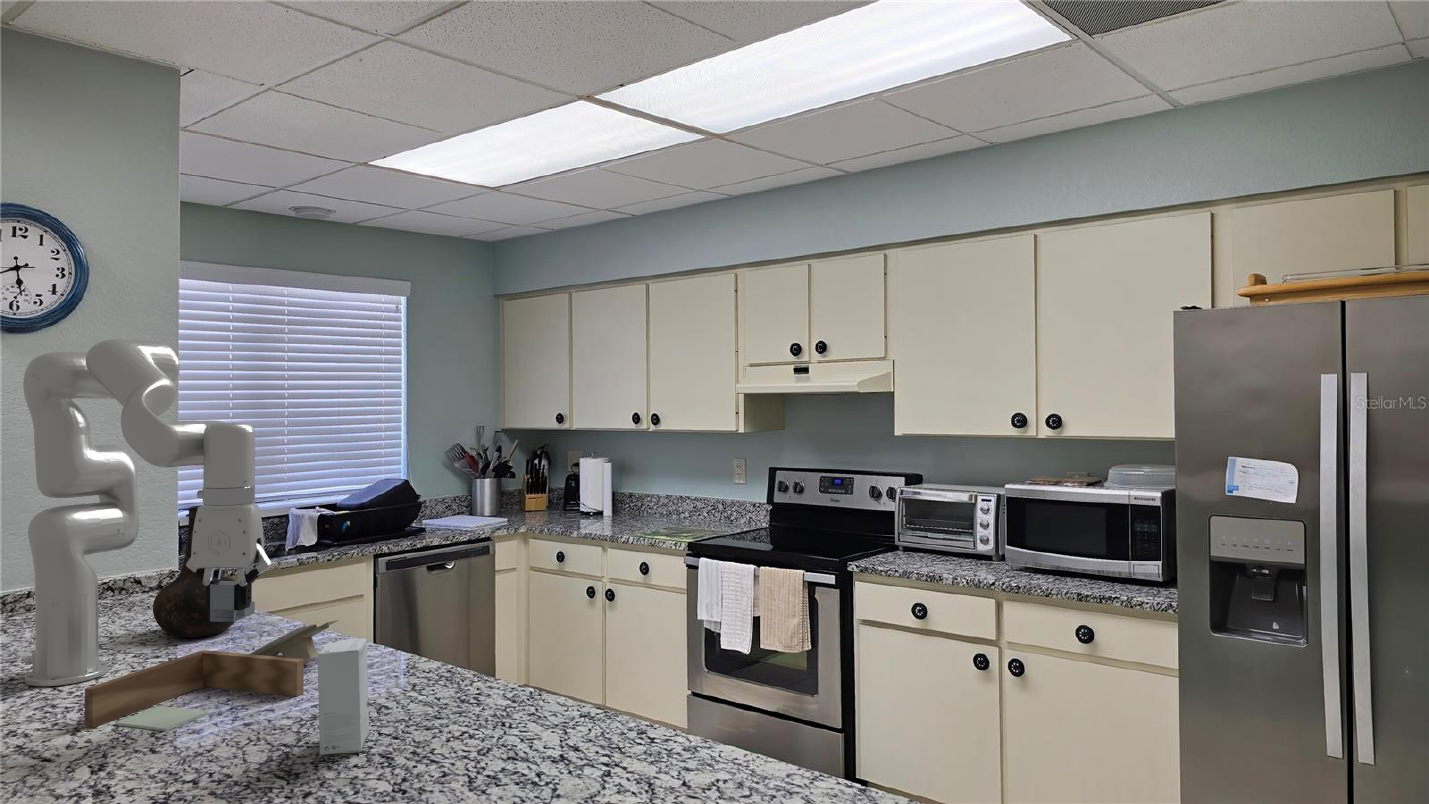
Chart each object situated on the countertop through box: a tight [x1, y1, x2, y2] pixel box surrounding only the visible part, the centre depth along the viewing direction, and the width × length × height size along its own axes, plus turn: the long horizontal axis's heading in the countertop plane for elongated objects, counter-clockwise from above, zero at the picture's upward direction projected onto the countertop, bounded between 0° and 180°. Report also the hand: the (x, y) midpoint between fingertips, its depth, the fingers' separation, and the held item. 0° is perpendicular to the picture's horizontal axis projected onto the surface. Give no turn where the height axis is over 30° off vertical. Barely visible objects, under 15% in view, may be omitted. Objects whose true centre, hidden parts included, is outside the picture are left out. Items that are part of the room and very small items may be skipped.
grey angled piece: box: [249, 619, 340, 665], centre depth 174 cm, size 16×9×15 cm
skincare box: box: [317, 637, 370, 756], centre depth 135 cm, size 8×6×15 cm
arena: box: [84, 649, 305, 729], centre depth 150 cm, size 22×23×6 cm
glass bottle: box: [152, 504, 237, 639], centre depth 199 cm, size 18×18×28 cm
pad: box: [115, 705, 209, 732], centre depth 145 cm, size 10×8×1 cm
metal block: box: [210, 580, 256, 623], centre depth 150 cm, size 4×6×6 cm, turn 177°
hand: (229, 607), depth 149 cm, fingers closed on metal block, 4 cm apart
